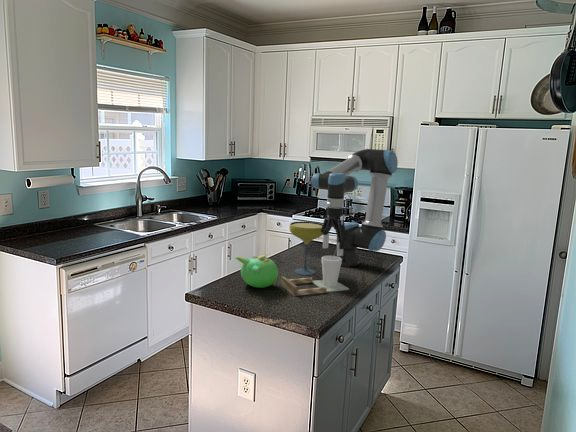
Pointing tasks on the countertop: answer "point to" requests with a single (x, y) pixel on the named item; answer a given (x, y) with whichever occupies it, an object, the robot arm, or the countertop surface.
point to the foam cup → (330, 270)
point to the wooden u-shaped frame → (293, 289)
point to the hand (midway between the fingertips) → (332, 251)
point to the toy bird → (258, 271)
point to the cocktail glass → (306, 238)
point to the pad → (330, 289)
